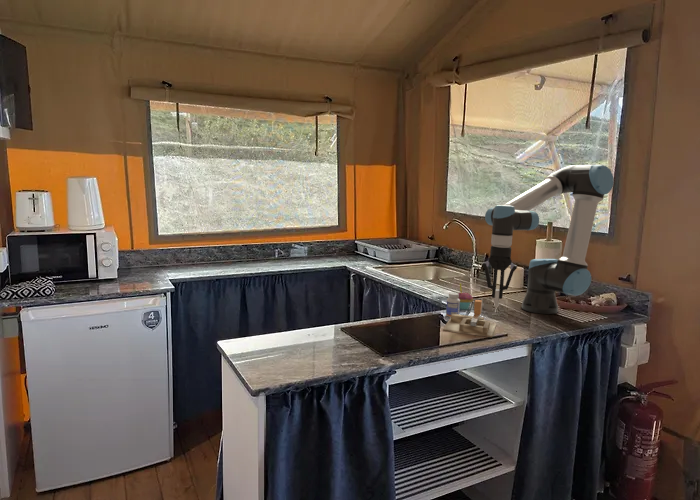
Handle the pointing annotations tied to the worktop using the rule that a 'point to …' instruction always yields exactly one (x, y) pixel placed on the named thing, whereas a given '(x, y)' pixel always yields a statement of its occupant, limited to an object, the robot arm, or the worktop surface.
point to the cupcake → (464, 299)
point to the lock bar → (476, 312)
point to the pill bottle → (453, 304)
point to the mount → (469, 326)
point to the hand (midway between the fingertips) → (496, 306)
